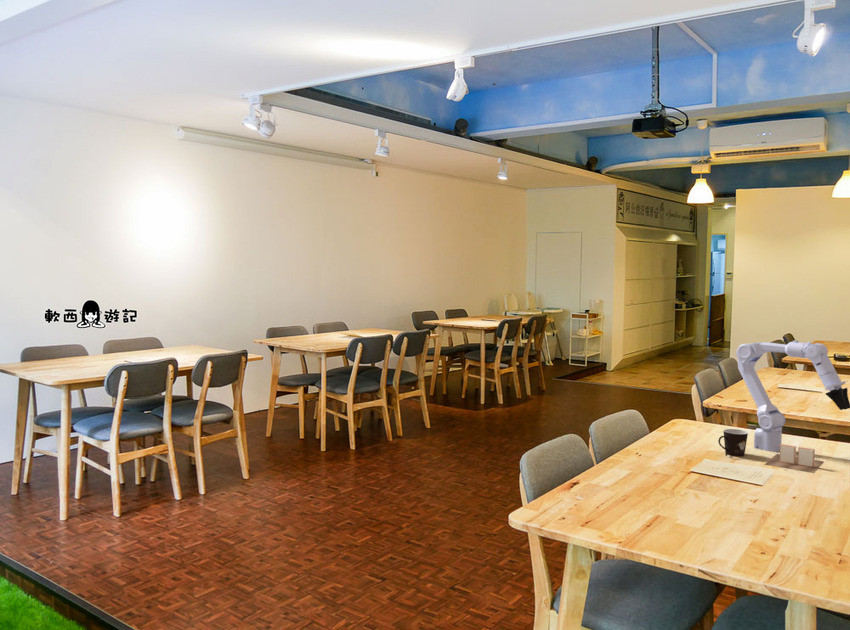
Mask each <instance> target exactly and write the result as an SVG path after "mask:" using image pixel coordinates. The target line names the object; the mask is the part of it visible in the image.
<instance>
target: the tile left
mask: <svg viewBox="0 0 850 630" xmlns="http://www.w3.org/2000/svg"><path fill="white" fill-rule="evenodd" d="M779 454H780V462H782V463H788V464H794V465H795V464H796V457H797V445H792V444H791V445H790V444H784V443H781V444H780V451H779Z"/></svg>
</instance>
